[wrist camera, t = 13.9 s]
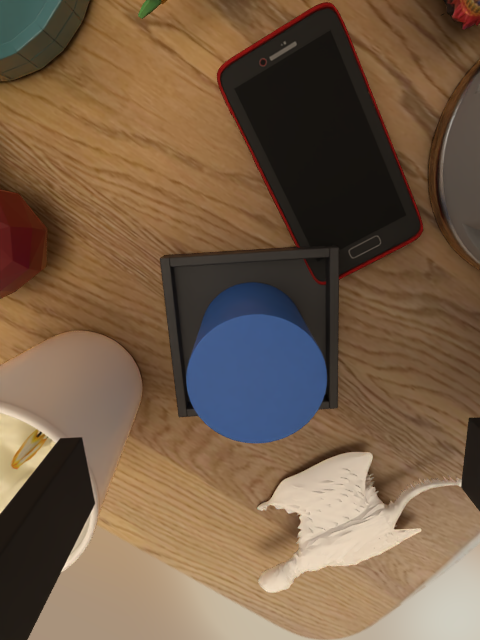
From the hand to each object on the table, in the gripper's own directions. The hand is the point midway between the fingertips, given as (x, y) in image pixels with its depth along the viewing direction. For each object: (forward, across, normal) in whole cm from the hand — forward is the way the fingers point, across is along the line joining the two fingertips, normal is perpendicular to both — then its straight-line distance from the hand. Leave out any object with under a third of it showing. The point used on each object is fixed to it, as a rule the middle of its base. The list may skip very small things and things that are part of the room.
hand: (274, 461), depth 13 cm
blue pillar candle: (+14, 0, 0) cm, 14 cm away
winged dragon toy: (+15, -7, +15) cm, 22 cm away
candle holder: (+15, +13, +3) cm, 20 cm away
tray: (+15, 0, 0) cm, 15 cm away
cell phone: (+15, -4, -11) cm, 19 cm away
